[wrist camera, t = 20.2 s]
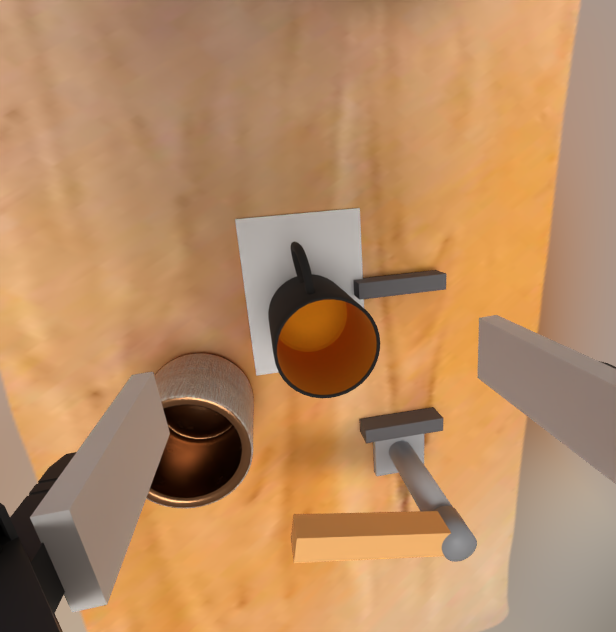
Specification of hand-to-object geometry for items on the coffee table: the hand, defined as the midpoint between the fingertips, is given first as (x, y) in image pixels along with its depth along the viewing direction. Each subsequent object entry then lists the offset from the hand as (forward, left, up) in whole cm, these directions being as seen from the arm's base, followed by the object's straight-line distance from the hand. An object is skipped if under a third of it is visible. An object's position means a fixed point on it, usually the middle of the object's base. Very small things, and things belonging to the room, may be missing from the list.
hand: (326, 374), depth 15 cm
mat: (+2, +2, -23) cm, 23 cm away
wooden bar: (+21, +6, -12) cm, 25 cm away
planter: (+12, -10, -24) cm, 28 cm away
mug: (+2, +2, -23) cm, 23 cm away
